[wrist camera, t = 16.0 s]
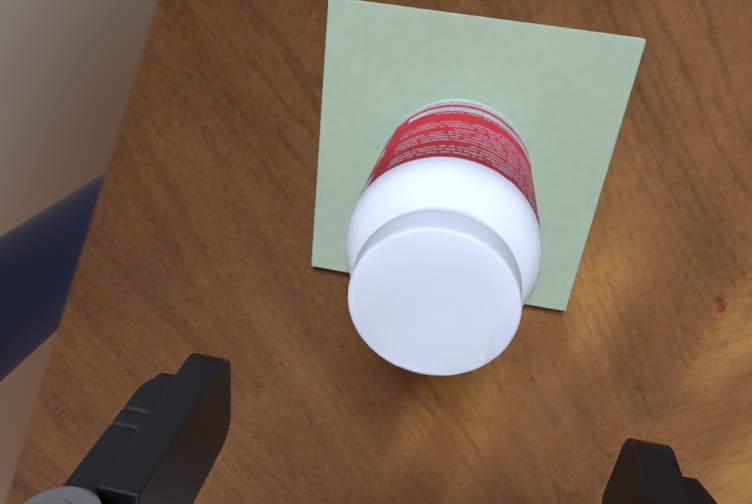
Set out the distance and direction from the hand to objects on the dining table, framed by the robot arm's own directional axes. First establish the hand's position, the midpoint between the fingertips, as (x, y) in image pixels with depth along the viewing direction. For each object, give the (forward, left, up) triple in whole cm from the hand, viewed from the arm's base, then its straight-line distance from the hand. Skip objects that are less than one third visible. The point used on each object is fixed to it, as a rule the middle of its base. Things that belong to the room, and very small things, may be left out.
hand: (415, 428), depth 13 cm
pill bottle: (0, 0, -16) cm, 16 cm away
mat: (0, 0, -16) cm, 16 cm away
